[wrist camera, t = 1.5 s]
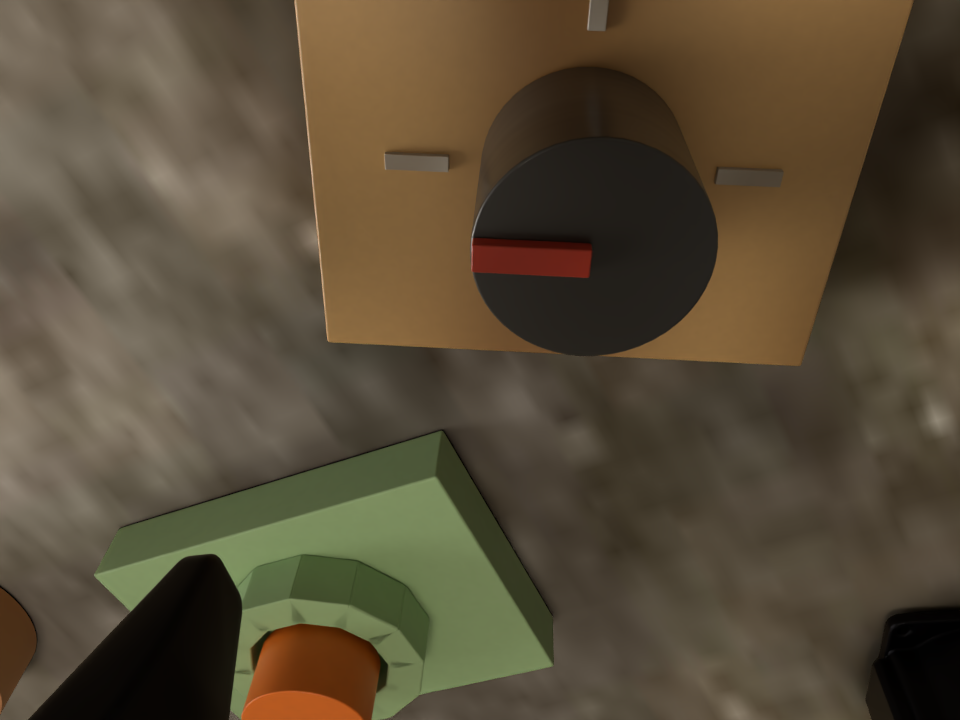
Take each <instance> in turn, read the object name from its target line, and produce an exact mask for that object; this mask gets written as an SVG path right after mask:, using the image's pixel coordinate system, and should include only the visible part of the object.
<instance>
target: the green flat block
mask: <svg viewBox="0 0 960 720" xmlns="http://www.w3.org/2000/svg"><path fill="white" fill-rule="evenodd" d="M203 554H215V555H217V556H218V557H220V559H221V560H222V562H223V564H224V565H225V567H226V569H227V571H228V573H229V574H230V576H231V578H232V580H233V582H234V583H235V585H236V587H237V589H238V591H239V593H240V596H241V599H242V619H241V627H240V635H239V643H238V651H237V659H236V667H235V675H234V683H233V691H232V699H231V707H230V710H231V711H232V712H233V713H234V714H236V715H237V716H238V717H239V718H240V719H241V715H242V712H243V708H244V705H245V702H246V699H247V695H248V692H249V689H250V686H251V682H252V679H253V676H254V673H255V669H256V666H257V663H258V660H259V656H260V653H261V650H262V646H263V643H264V641H265V640H266V638H267V637H268V636H269V635H270V634H271V633H272V632H273V631H274V630H276V629H279V628H283V627H287V626H291V625H296V624H300V623H303V624H311V625H320V626H329V627H338V628H341V629H343V630H346V631H348V632H350V633H352V634H354V635H356V636H358V637H360V638H362V639H364V640H367V641H369V642H370V643H371V644H372V645H373V646H374V647H375V649H376V650H377V652H378V655H379V658H380V663H381V667H380V673H379V678H378V684H377V690H376V696H375V702H374V708H373V714H372V720H382V719H387V718H390V717H392V716H393V715H395V714H396V713H397V712H398V711H400V710H401V709H402V708H403V707H405V706H406V705H407V704H409V703H410V702H411V701H412V700H414V699H415V698H416V697H417V696H419V695H420V694H425V693H429V692H434V691H439V690H444V689H448V688H453V687H458V686H463V685H467V684H472V683H477V682H482V681H486V680H491V679H496V678H501V677H505V676H510V675H515V674H520V673H524V672H529V671H534V670H539V669H543V668H548V667H552V666H553V665H554V657H553V617H552V615H551V613H550V612H549V610H548V608H547V607H546V605H545V603H544V602H543V600H542V598H541V596H540V595H539V593H538V591H537V590H536V588H535V586H534V585H533V583H532V581H531V579H530V578H529V576H528V574H527V573H526V571H525V569H524V568H523V566H522V564H521V563H520V561H519V559H518V557H517V556H516V554H515V552H514V551H513V549H512V547H511V546H510V544H509V542H508V540H507V539H506V537H505V535H504V534H503V532H502V530H501V529H500V527H499V525H498V523H497V522H496V520H495V518H494V517H493V515H492V513H491V512H490V510H489V508H488V506H487V505H486V503H485V501H484V500H483V498H482V496H481V495H480V493H479V491H478V490H477V488H476V486H475V484H474V483H473V481H472V479H471V478H470V476H469V474H468V473H467V471H466V469H465V467H464V466H463V464H462V462H461V461H460V459H459V457H458V456H457V454H456V452H455V450H454V449H453V447H452V445H451V444H450V442H449V440H448V439H447V437H446V435H445V433H444V432H443V431H439V432H436V433H432V434H429V435H426V436H422V437H419V438H416V439H412V440H409V441H406V442H403V443H399V444H396V445H393V446H389V447H386V448H383V449H380V450H376V451H373V452H370V453H366V454H363V455H360V456H357V457H353V458H350V459H347V460H343V461H340V462H337V463H333V464H330V465H327V466H324V467H320V468H317V469H314V470H310V471H307V472H304V473H301V474H297V475H294V476H291V477H287V478H284V479H281V480H278V481H274V482H271V483H268V484H264V485H261V486H258V487H255V488H251V489H248V490H245V491H241V492H238V493H235V494H231V495H228V496H225V497H222V498H218V499H215V500H212V501H208V502H205V503H202V504H199V505H195V506H192V507H189V508H185V509H182V510H179V511H176V512H172V513H169V514H166V515H162V516H159V517H156V518H152V519H149V520H146V521H143V522H139V523H136V524H133V525H129V526H126V527H123V528H120V529H119V530H118V532H117V534H116V536H115V537H114V539H113V541H112V543H111V545H110V547H109V548H108V550H107V552H106V554H105V556H104V558H103V559H102V561H101V563H100V565H99V567H98V569H97V571H96V572H95V574H94V576H95V577H96V578H97V579H98V580H99V581H100V582H101V583H102V584H103V585H104V586H105V587H106V588H107V589H108V590H109V591H110V592H111V593H112V594H113V595H114V596H115V597H116V598H117V599H118V600H119V601H120V602H121V603H122V604H123V605H124V606H125V607H126V608H127V609H128V610H129V611H130V612H131V611H132V610H133V609H134V608H135V607H136V606H137V604H138V603H139V602H140V601H141V600H142V599H143V598H144V597H145V596H146V595H147V594H148V593H149V592H150V591H151V590H152V589H153V588H154V587H155V586H156V585H157V583H158V582H159V581H160V580H161V579H162V578H163V577H164V576H165V575H166V574H167V573H168V572H169V571H170V570H171V569H172V568H173V567H174V566H175V565H176V564H177V563H178V562H179V561H180V560H181V559H183V558H184V557H187V556H193V555H203Z"/></svg>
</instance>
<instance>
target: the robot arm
mask: <svg viewBox="0 0 960 720" xmlns="http://www.w3.org/2000/svg"><path fill="white" fill-rule="evenodd" d="M241 619H242V599H241V596H240V593H239V591H238V589H237V587H236V585H235V583H234V582H233V580H232V578H231V576H230V574H229V573H228V571H227V569H226V567H225V565H224V564H223V562H222V560H221V559H220V557H218V556H217V555H215V554H203V555H193V556H187V557H184V558H183V559H181V560H180V561H179V562H178V563H177V564H176V565H175V566H174V567H173V568H172V569H171V570H170V571H169V572H168V573H167V574H166V575H165V576H164V577H163V578H162V579H161V580H160V581H159V582H158V583H157V585H156V586H155V587H154V588H153V589H152V590H151V591H150V592H149V593H148V594H147V595H146V596H145V597H144V598H143V599H142V600H141V601H140V602H139V603H138V604H137V606H136V607H135V608H134V609H133V610H132V611H131V612H130V613H129V614H128V615H127V616H126V617H125V618H124V619H123V620H122V621H121V622H120V623H119V624H118V625H117V627H116V628H115V629H114V630H113V631H112V632H111V633H110V634H109V635H108V636H107V637H106V638H105V639H104V640H103V641H102V642H101V643H100V644H99V645H98V646H97V648H96V649H95V650H94V651H93V652H92V653H91V654H90V655H89V656H88V657H87V658H86V659H85V660H84V661H83V662H82V663H81V664H80V665H79V666H78V668H77V669H76V670H75V671H74V672H73V673H72V674H71V675H70V676H69V677H68V678H67V679H66V680H65V681H64V682H63V683H62V684H61V685H60V686H59V687H58V689H57V690H56V691H55V692H54V693H53V694H52V695H51V696H50V697H49V698H48V699H47V700H46V701H45V702H44V703H43V704H42V705H41V706H40V707H39V708H38V710H37V711H36V712H35V713H34V714H33V715H32V716H31V717H30V718H29V719H28V720H229V714H230V707H231V699H232V691H233V683H234V675H235V667H236V659H237V651H238V643H239V635H240V627H241ZM866 703H867V706H868V709H869V713H870V716H871V719H872V720H960V611H943V612H923V613H903V614H896V615H894V616H892V617H890V618H889V619H888V620H887V622H886V625H885V629H884V634H883V639H882V644H881V649H880V654H879V658H877V659H876V660H875V662H874V663H873V665H872V670H871V675H870V679H869V684H868V689H867V694H866Z"/></svg>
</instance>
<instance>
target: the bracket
mask: <svg viewBox="0 0 960 720" xmlns="http://www.w3.org/2000/svg"><path fill="white" fill-rule="evenodd" d="M36 646H37V638H36V632H35V629H34V626H33V624H32V622H31V620H30V618H29V617H28V615H27V614H26V612H25V611H24V610H23V608H22V607H21V606H20V605H19V604H18V603H17V602H16V601H15V600H14V599H13V598H12V597H11V596H10V595H9V594H8V593H7V592H5V591H4V590H3V589H1V588H0V714H1V712H2V710H3V708H4V707H5V705H6V703H7V701H8V700H9V698H10V696H11V694H12V692H13V691H14V689H15V687H16V685H17V683H18V682H19V680H20V678H21V676H22V675H23V673H24V671H25V669H26V667H27V666H28V664H29V662H30V660H31V659H32V657H33V655H34V653H35V650H36Z"/></svg>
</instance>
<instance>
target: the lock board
mask: <svg viewBox="0 0 960 720" xmlns="http://www.w3.org/2000/svg"><path fill="white" fill-rule="evenodd" d="M294 1H295V11H296V22H297V32H298V42H299V53H300V63H301V73H302V83H303V94H304V104H305V114H306V125H307V135H308V145H309V156H310V166H311V176H312V186H313V197H314V207H315V217H316V228H317V238H318V248H319V258H320V269H321V279H322V289H323V300H324V310H325V320H326V330H327V340H328V342H337V343H356V344H376V345H396V346H415V347H435V348H455V349H474V350H494V351H514V352H533V353H553V354H561V353H557V352H552V351H549V350H546V349H543V348H540V347H538V346H536V345H533V344H531V343H529V342H527V341H525V340H523V339H522V338H520V337H519V336H517V335H515V334H514V333H513V332H511V331H510V330H509V329H508V328H506V327H505V326H504V325H503V324H502V323H501V322H500V321H499V320H498V319H497V318H496V317H495V316H494V315H493V314H492V312H491V311H490V309H489V308H488V307H487V305H486V304H485V302H484V301H483V299H482V297H481V295H480V293H479V291H478V289H477V286H476V283H475V280H474V277H473V273H472V271H471V260H470V244H471V234H472V226H473V218H474V211H475V203H476V195H477V188H478V180H479V172H480V165H481V157H482V151H483V147H484V142H485V139H486V136H487V134H488V131H489V129H490V127H491V125H492V123H493V121H494V119H495V118H496V116H497V115H498V113H499V112H500V110H501V109H502V108H503V106H504V105H505V104H506V103H507V102H508V101H509V100H510V99H511V98H512V97H513V96H514V95H515V94H516V93H517V92H519V91H520V90H521V89H522V88H524V87H525V86H527V85H528V84H530V83H532V82H533V81H535V80H537V79H539V78H541V77H543V76H545V75H548V74H550V73H553V72H557V71H560V70H563V69H569V68H576V67H600V68H608V69H612V70H616V71H620V72H623V73H625V74H627V75H630V76H632V77H634V78H636V79H638V80H640V81H641V82H643V83H645V84H646V85H648V86H649V87H650V88H651V89H653V90H654V91H655V92H656V93H657V94H658V95H659V96H660V97H661V98H662V99H663V100H664V101H665V102H666V104H667V105H668V107H669V108H670V109H671V111H672V112H673V114H674V116H675V118H676V120H677V122H678V124H679V127H680V129H681V131H682V134H683V136H684V139H685V141H686V144H687V146H688V149H689V151H690V153H691V156H692V158H693V161H694V163H695V166H696V168H697V170H698V173H699V175H700V178H701V180H702V183H703V185H704V187H705V190H706V192H707V195H708V197H709V200H710V202H711V205H712V208H713V211H714V214H715V217H716V223H717V229H718V251H717V258H716V263H715V267H714V270H713V273H712V276H711V279H710V281H709V283H708V285H707V287H706V289H705V291H704V293H703V294H702V296H701V297H700V299H699V301H698V302H697V303H696V305H695V306H694V307H693V308H692V310H691V311H690V312H689V313H688V314H687V315H686V316H685V317H684V318H683V319H682V320H681V321H680V322H679V323H678V324H677V325H675V326H674V327H673V328H671V329H670V330H669V331H667V332H666V333H664V334H663V335H661V336H659V337H658V338H656V339H654V340H653V341H650V342H648V343H646V344H644V345H642V346H639V347H636V348H633V349H630V350H627V351H624V352H619V353H615V354H610V355H601V356H612V357H632V358H651V359H671V360H691V361H710V362H730V363H749V364H769V365H789V366H800V365H801V363H802V360H803V357H804V354H805V350H806V347H807V344H808V341H809V338H810V334H811V331H812V328H813V325H814V321H815V318H816V315H817V312H818V309H819V305H820V302H821V299H822V296H823V292H824V289H825V286H826V283H827V279H828V276H829V273H830V270H831V267H832V263H833V260H834V257H835V254H836V250H837V247H838V244H839V241H840V237H841V234H842V231H843V228H844V225H845V221H846V218H847V215H848V212H849V208H850V205H851V202H852V199H853V196H854V192H855V189H856V186H857V183H858V179H859V176H860V173H861V170H862V166H863V163H864V160H865V157H866V154H867V150H868V147H869V144H870V141H871V137H872V134H873V131H874V128H875V124H876V121H877V118H878V115H879V112H880V108H881V105H882V102H883V99H884V95H885V92H886V89H887V86H888V83H889V79H890V76H891V73H892V70H893V66H894V63H895V60H896V57H897V53H898V50H899V47H900V44H901V41H902V37H903V34H904V31H905V28H906V24H907V21H908V18H909V15H910V11H911V8H912V5H913V2H914V0H294Z"/></svg>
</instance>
